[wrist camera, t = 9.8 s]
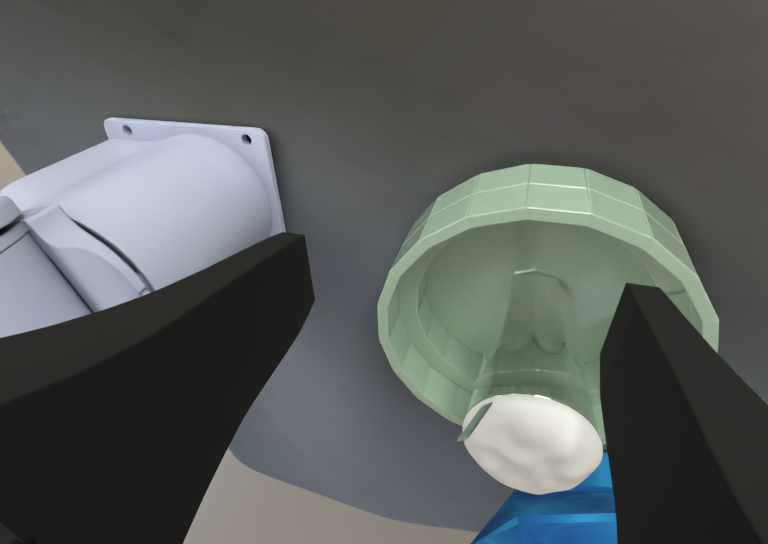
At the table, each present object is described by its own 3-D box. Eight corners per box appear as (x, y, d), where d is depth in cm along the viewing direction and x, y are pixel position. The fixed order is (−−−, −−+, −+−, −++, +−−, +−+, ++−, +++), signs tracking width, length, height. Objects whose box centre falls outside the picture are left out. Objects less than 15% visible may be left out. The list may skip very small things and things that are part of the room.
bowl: (403, 353, 27) (382, 412, 24) (402, 147, 20) (370, 190, 16) (636, 399, 24) (650, 476, 20) (743, 173, 16) (795, 235, 13)
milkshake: (537, 230, 19) (529, 419, 12) (606, 311, 21) (639, 529, 13) (457, 277, 22) (407, 455, 14) (522, 346, 23) (509, 544, 16)
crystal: (728, 637, 22) (486, 642, 25) (652, 476, 29) (471, 492, 32) (749, 565, 18) (461, 579, 21) (656, 401, 26) (451, 426, 28)
